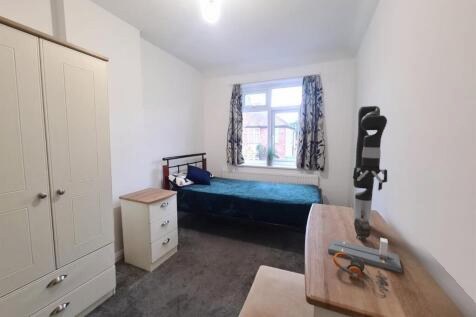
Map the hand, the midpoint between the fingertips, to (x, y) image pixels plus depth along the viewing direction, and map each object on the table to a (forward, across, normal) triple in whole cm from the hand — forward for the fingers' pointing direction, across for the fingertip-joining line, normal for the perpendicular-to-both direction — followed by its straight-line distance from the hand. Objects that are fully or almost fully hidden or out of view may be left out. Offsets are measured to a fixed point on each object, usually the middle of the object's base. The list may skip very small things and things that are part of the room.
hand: (368, 189), depth 103 cm
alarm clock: (+30, +2, -10) cm, 32 cm away
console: (+30, +1, +10) cm, 32 cm away
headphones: (+30, +2, +28) cm, 41 cm away
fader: (+28, -7, +10) cm, 30 cm away
